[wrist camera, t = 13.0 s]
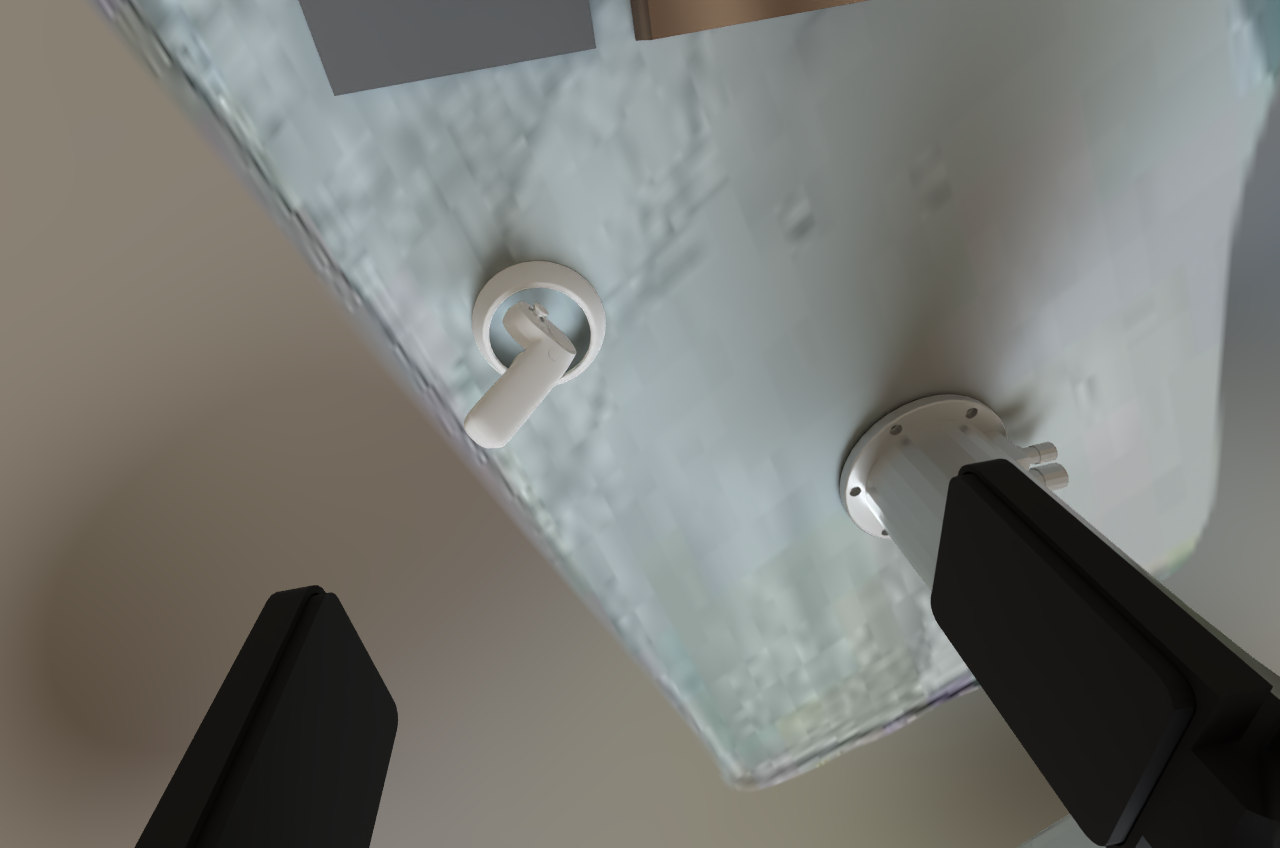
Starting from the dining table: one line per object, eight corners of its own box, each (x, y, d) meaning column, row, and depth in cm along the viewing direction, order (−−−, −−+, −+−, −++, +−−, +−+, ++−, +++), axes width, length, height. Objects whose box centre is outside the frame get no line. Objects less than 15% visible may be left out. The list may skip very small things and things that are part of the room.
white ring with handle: (359, 413, 31) (401, 359, 26) (490, 284, 38) (543, 221, 33) (473, 505, 33) (533, 473, 28) (577, 366, 40) (640, 320, 35)
